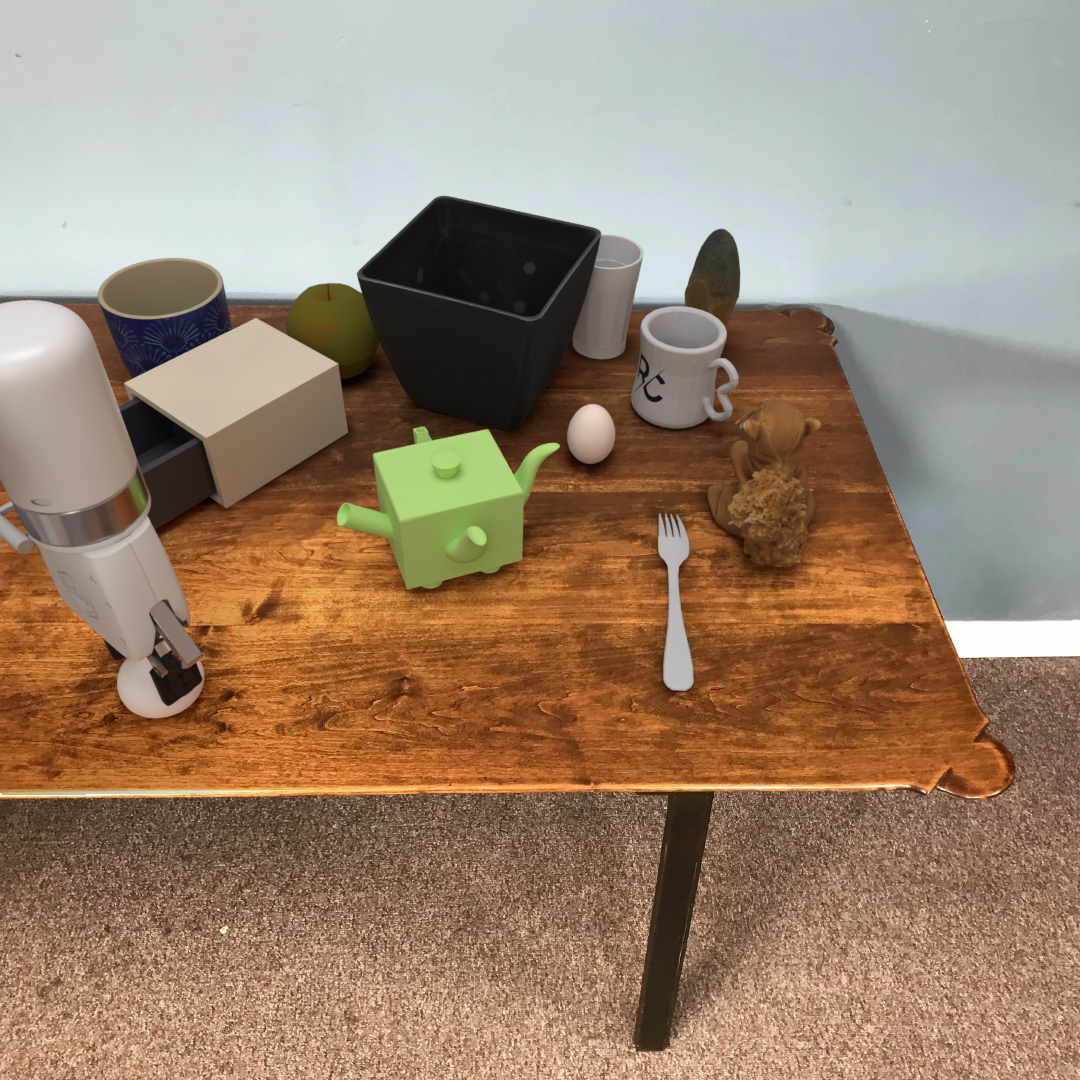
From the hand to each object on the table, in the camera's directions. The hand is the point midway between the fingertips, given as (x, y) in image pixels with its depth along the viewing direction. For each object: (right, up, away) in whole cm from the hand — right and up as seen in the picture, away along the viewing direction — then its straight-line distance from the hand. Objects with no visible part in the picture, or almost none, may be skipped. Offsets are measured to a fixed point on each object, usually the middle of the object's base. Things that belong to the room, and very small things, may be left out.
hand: (156, 668), depth 70 cm
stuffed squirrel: (+50, +10, +17) cm, 54 cm away
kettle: (+22, +8, +14) cm, 27 cm away
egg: (+34, +18, +24) cm, 46 cm away
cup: (+36, +33, +40) cm, 63 cm away
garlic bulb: (0, -2, +2) cm, 3 cm away
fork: (+41, +5, +11) cm, 43 cm away
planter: (-10, +28, +33) cm, 44 cm away
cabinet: (-1, +20, +24) cm, 31 cm away
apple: (+7, +29, +34) cm, 45 cm away
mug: (+45, +24, +30) cm, 59 cm away
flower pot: (+23, +26, +32) cm, 48 cm away
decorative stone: (+49, +32, +39) cm, 70 cm away
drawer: (-10, +13, +15) cm, 22 cm away
